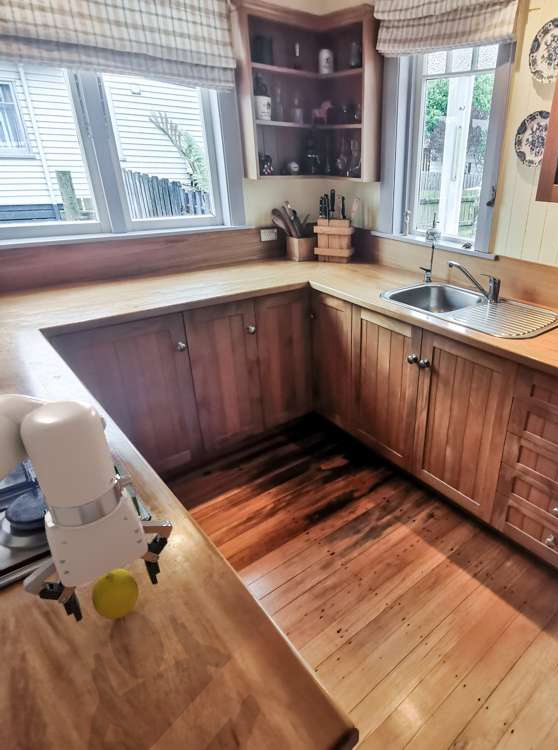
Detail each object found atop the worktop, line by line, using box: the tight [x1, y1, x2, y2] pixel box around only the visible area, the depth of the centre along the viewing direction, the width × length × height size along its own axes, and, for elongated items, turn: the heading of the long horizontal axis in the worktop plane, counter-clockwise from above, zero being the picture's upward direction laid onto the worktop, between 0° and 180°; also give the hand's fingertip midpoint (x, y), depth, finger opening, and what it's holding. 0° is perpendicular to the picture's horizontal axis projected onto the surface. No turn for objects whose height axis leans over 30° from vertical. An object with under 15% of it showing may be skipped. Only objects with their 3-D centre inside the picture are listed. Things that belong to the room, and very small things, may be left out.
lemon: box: [91, 568, 140, 620], centre depth 64 cm, size 6×6×8 cm
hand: (116, 594), depth 64 cm, fingers open, 9 cm apart
